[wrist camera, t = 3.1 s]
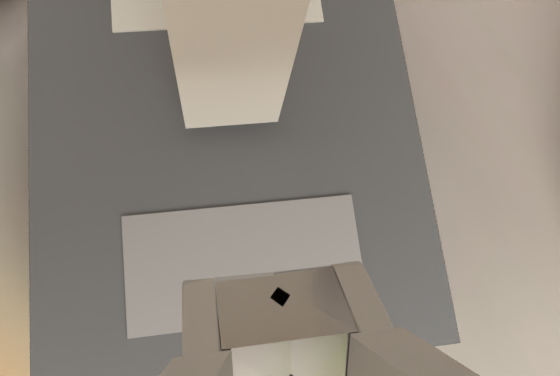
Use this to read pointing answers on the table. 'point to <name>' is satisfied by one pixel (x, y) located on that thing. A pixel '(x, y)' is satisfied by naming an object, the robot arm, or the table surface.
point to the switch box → (214, 182)
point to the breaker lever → (233, 57)
